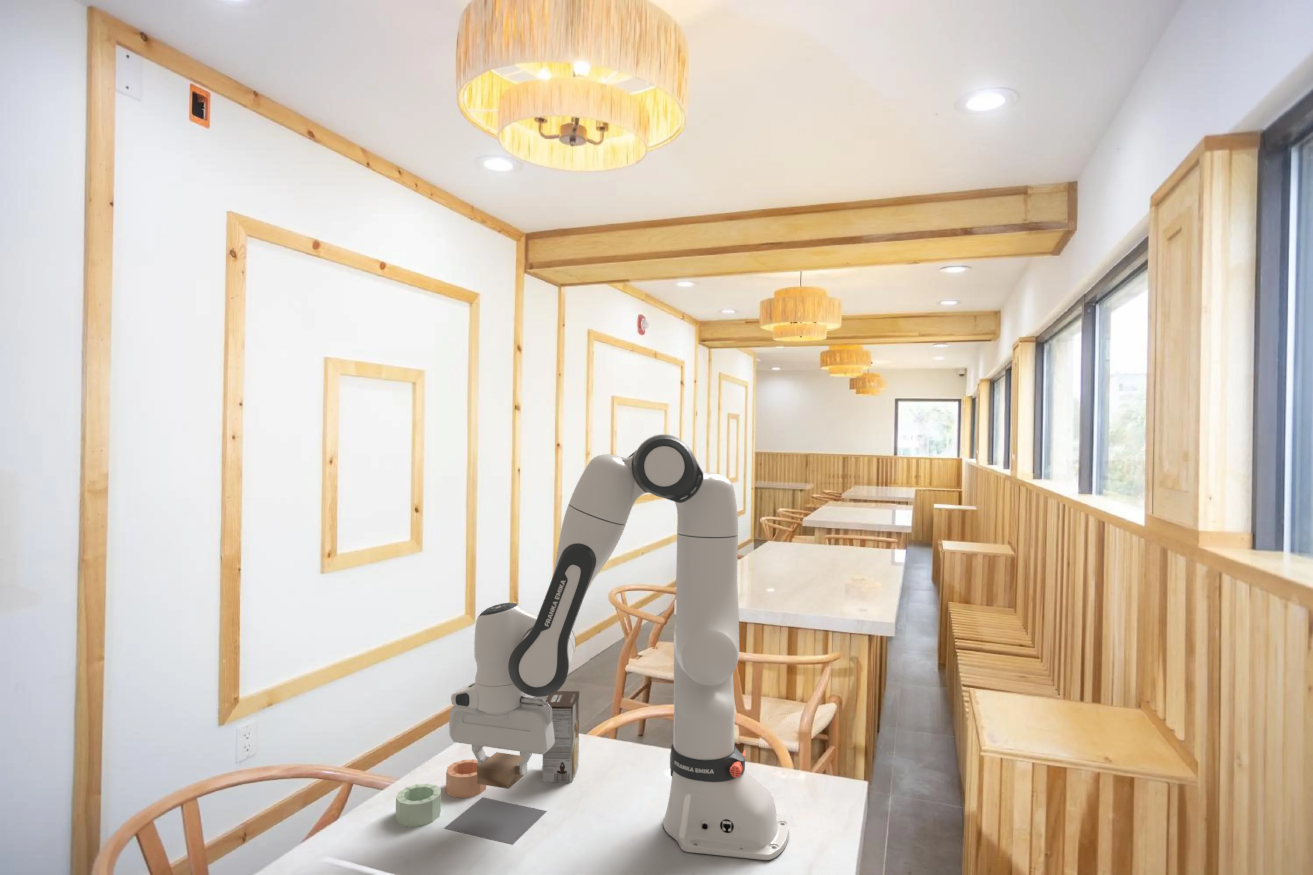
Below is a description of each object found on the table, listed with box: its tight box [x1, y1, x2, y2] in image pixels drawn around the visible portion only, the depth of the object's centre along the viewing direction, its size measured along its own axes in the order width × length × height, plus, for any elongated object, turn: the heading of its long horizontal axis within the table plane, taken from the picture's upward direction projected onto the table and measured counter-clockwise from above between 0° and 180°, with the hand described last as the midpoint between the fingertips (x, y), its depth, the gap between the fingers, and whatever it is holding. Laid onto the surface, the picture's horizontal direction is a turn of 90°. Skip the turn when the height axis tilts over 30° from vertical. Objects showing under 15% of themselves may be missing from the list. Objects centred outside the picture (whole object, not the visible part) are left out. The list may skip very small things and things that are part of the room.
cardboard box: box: [477, 751, 528, 790], centre depth 132 cm, size 6×6×3 cm
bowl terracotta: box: [445, 759, 488, 799], centre depth 143 cm, size 8×8×4 cm
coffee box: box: [541, 690, 580, 784], centre depth 151 cm, size 9×6×16 cm
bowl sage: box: [395, 783, 442, 828], centre depth 133 cm, size 8×8×4 cm
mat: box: [443, 796, 548, 845], centre depth 132 cm, size 14×12×1 cm
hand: (502, 770), depth 132 cm, fingers closed on cardboard box, 6 cm apart
